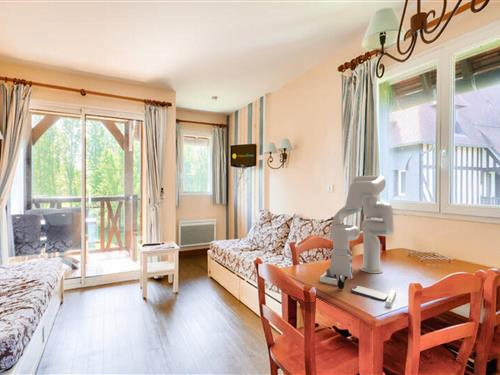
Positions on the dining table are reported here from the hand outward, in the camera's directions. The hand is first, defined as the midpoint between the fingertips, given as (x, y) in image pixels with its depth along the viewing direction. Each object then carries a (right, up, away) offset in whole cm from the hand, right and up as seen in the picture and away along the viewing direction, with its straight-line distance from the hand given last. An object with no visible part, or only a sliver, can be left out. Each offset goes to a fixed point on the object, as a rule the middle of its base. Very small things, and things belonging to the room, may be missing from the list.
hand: (340, 288), depth 137 cm
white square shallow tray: (-1, -1, +12) cm, 12 cm away
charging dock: (+19, -1, -12) cm, 22 cm away
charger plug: (-1, 0, +12) cm, 13 cm away
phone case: (+12, -2, -5) cm, 13 cm away
